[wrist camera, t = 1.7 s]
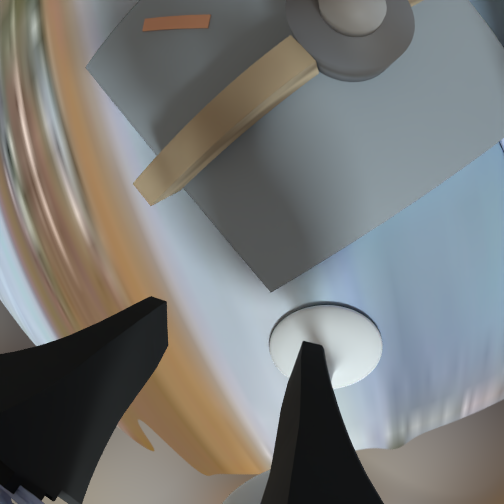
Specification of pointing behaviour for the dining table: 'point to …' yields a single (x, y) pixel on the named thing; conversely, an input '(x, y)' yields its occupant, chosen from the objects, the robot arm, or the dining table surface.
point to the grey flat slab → (308, 122)
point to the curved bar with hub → (285, 79)
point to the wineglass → (337, 357)
